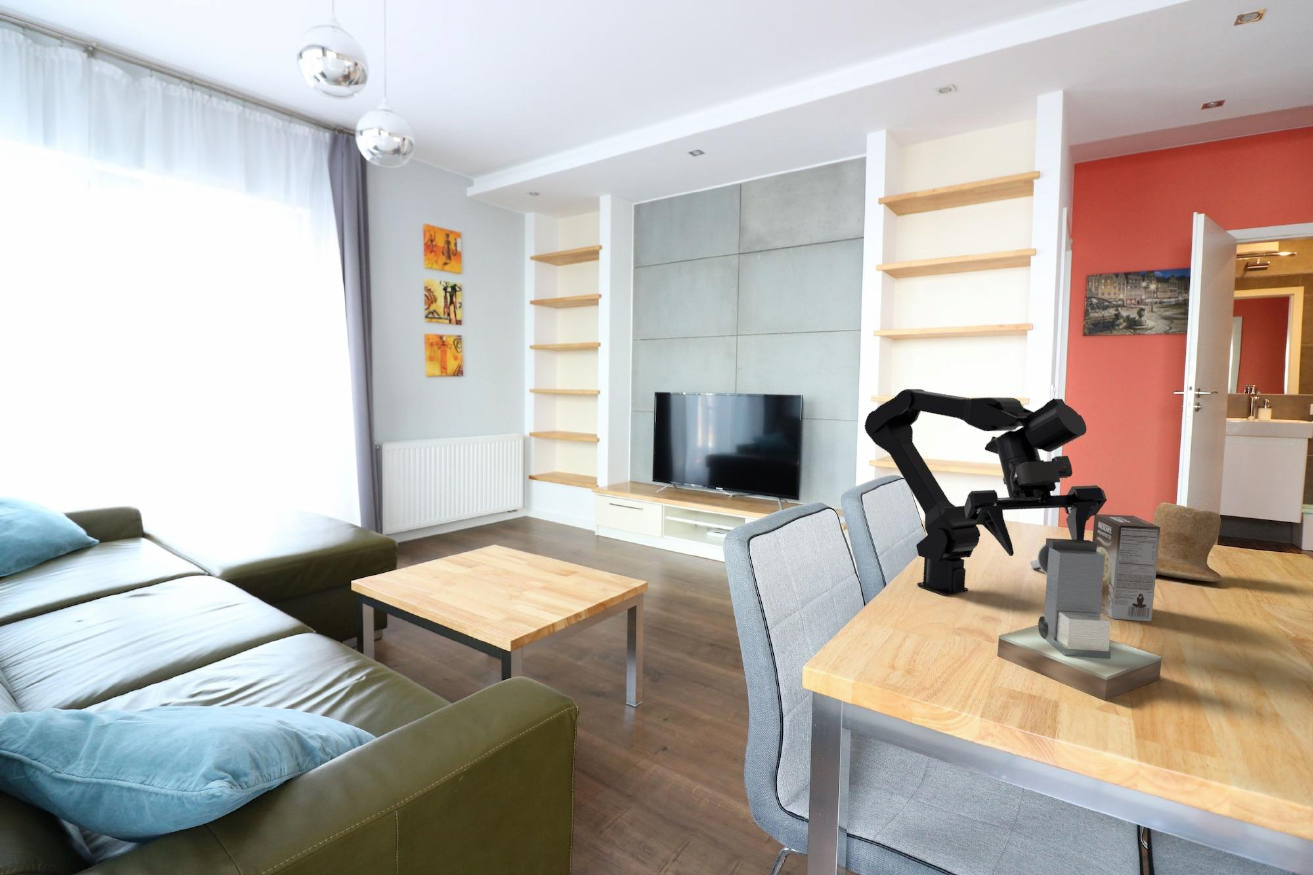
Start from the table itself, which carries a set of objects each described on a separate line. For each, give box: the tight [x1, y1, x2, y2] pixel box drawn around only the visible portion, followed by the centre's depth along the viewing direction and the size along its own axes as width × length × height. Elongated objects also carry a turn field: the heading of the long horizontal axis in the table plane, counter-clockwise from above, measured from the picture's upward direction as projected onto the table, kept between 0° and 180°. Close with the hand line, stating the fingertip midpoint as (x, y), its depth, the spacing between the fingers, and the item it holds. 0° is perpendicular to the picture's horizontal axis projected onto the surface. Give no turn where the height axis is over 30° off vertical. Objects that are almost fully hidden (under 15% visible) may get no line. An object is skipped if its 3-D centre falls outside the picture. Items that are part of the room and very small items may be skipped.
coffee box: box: [1091, 513, 1161, 622], centre depth 108 cm, size 9×6×16 cm
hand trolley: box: [1037, 537, 1112, 659], centre depth 86 cm, size 8×6×14 cm
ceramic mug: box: [1029, 543, 1049, 576], centre depth 129 cm, size 11×8×8 cm
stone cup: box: [1152, 502, 1222, 582], centre depth 130 cm, size 15×12×15 cm
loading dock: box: [997, 624, 1163, 701], centre depth 86 cm, size 14×13×3 cm
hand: (1045, 554), depth 95 cm, fingers open, 9 cm apart
